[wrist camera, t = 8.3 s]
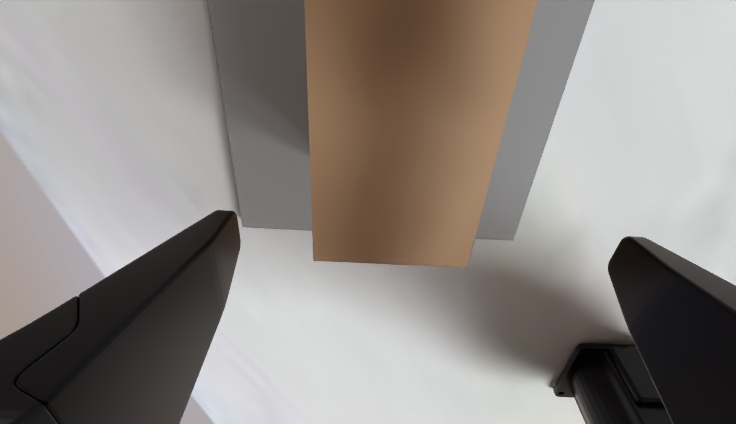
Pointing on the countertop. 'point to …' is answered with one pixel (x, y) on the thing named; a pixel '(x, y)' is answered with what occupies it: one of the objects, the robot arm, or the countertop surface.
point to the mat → (291, 124)
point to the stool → (407, 123)
